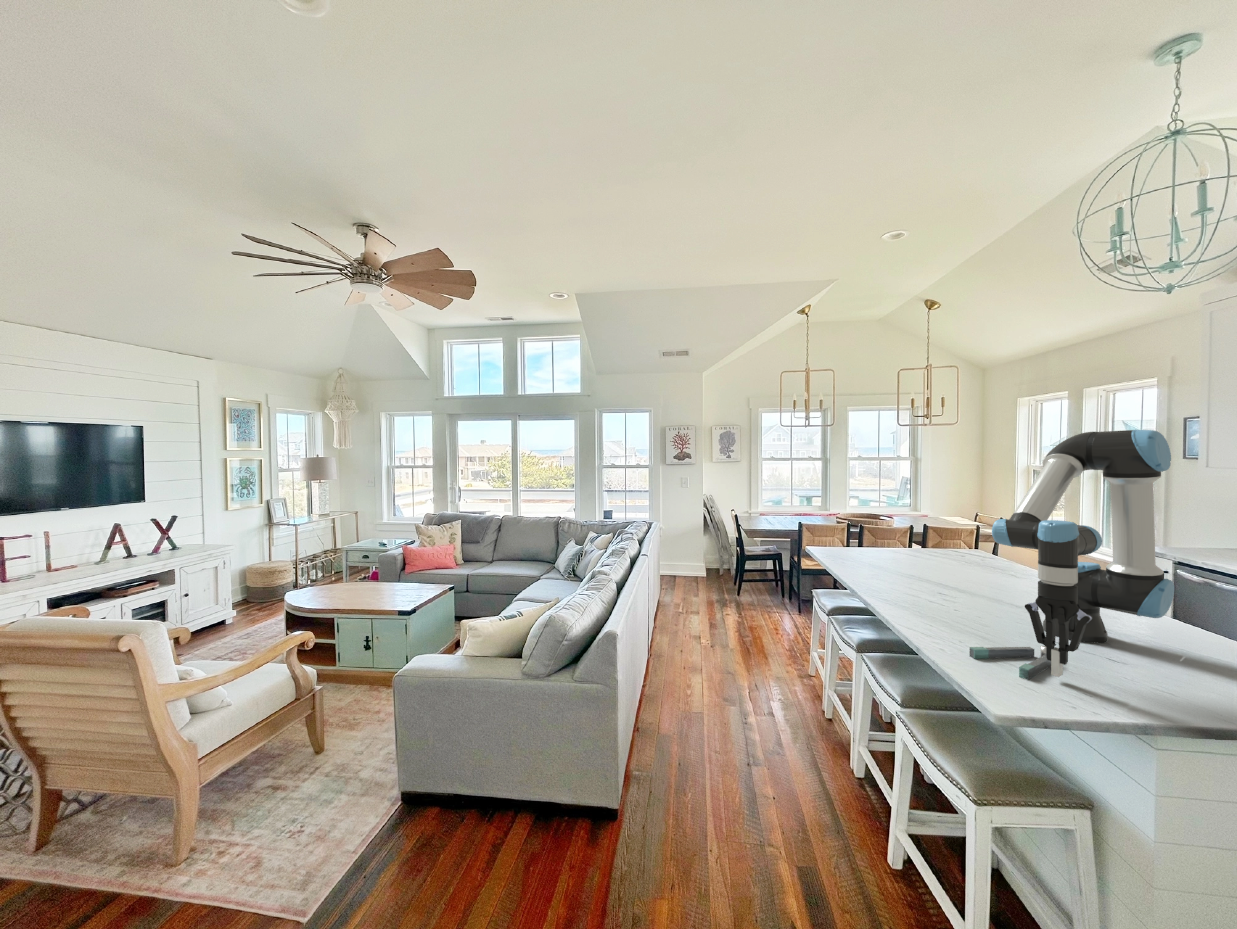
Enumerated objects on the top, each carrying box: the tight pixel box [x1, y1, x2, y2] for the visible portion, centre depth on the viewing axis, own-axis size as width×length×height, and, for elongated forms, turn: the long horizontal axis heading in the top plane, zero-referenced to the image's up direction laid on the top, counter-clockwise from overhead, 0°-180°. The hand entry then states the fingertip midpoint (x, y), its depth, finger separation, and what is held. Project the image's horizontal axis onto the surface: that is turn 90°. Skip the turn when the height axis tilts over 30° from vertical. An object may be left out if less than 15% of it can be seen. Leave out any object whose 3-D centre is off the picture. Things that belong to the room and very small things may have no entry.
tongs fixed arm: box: [969, 645, 1046, 660], centre depth 137 cm, size 21×4×3 cm, turn 91°
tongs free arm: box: [1018, 654, 1051, 680], centre depth 129 cm, size 18×2×3 cm, turn 121°
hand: (1057, 674), depth 123 cm, fingers closed
